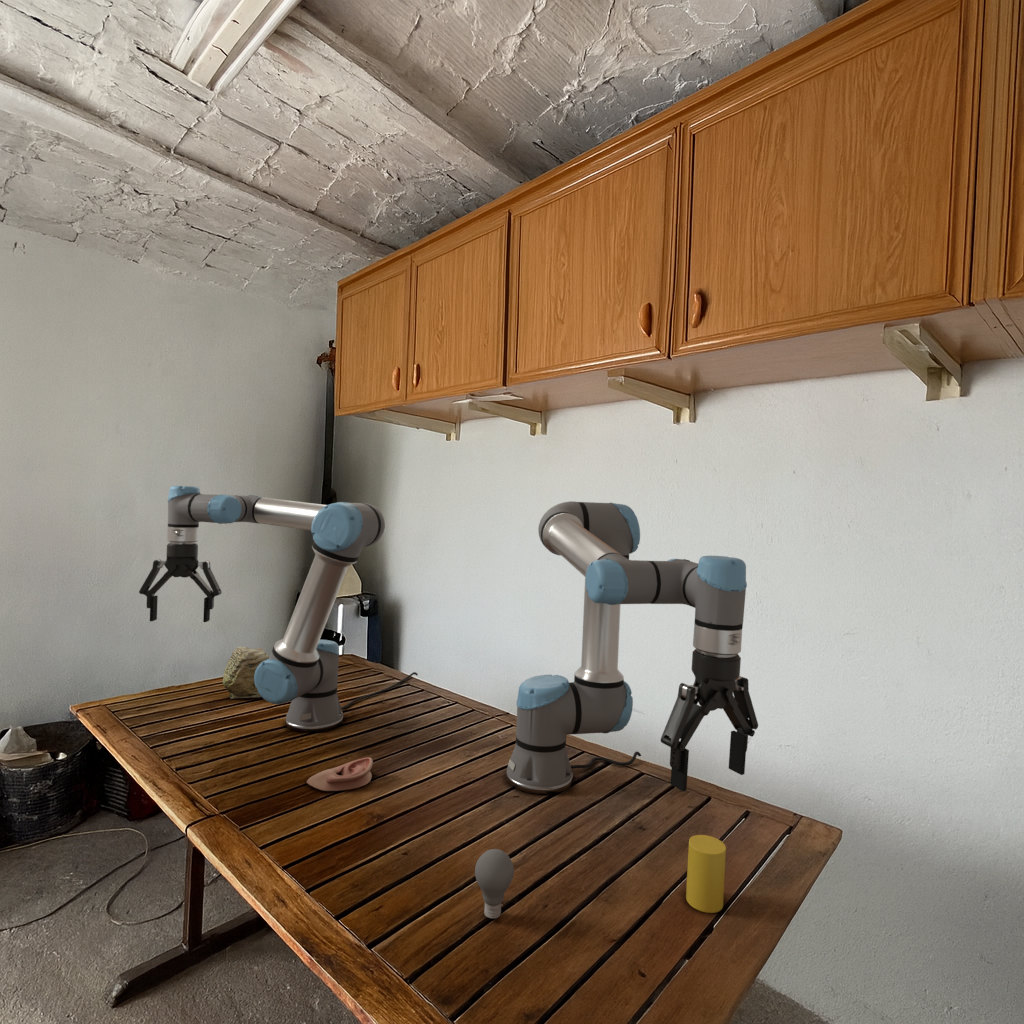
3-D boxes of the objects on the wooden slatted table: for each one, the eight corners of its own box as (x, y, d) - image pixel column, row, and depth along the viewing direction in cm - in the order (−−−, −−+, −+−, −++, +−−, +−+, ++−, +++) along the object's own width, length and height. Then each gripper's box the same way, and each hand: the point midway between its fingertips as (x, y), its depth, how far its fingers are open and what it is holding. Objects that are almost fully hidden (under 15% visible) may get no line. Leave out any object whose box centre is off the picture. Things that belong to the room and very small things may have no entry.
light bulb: (472, 903, 100) (475, 841, 100) (510, 903, 101) (513, 841, 101) (473, 929, 94) (476, 863, 94) (513, 928, 95) (516, 862, 95)
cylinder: (692, 886, 108) (695, 830, 108) (727, 899, 105) (730, 842, 104) (680, 903, 103) (683, 845, 103) (716, 918, 100) (719, 858, 100)
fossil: (218, 695, 195) (220, 647, 195) (278, 685, 208) (279, 640, 207) (228, 703, 189) (230, 653, 188) (289, 692, 201) (290, 645, 201)
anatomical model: (300, 769, 137) (326, 749, 148) (299, 787, 137) (325, 766, 148) (357, 777, 134) (379, 756, 146) (356, 796, 134) (378, 773, 146)
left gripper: (126, 542, 166) (124, 622, 166) (226, 545, 170) (224, 624, 170) (139, 540, 173) (136, 617, 174) (235, 543, 177) (232, 618, 177)
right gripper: (678, 665, 94) (669, 806, 94) (785, 650, 106) (777, 774, 107) (643, 652, 100) (635, 784, 101) (748, 639, 113) (740, 756, 114)
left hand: (180, 620), depth 172 cm, fingers open, 13 cm apart
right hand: (708, 779), depth 104 cm, fingers open, 13 cm apart
